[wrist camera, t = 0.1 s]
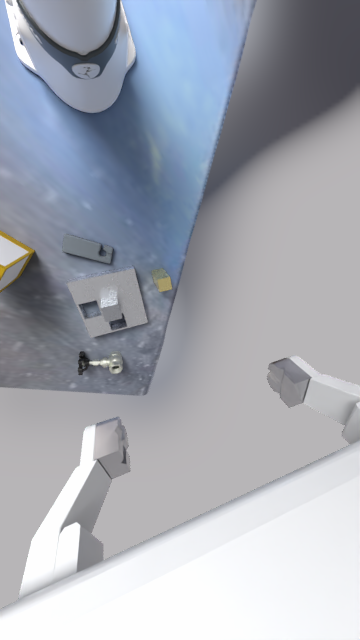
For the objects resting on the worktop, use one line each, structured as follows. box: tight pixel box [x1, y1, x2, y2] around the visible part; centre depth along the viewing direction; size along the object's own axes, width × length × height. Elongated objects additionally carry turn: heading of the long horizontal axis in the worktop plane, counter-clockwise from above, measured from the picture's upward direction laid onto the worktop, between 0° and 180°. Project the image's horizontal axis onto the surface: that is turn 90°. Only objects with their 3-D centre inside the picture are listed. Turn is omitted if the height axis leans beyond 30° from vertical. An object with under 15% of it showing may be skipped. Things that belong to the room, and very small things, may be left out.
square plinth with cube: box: [67, 266, 148, 338], centre depth 53 cm, size 16×16×8 cm
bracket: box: [62, 234, 113, 264], centre depth 48 cm, size 4×10×2 cm, turn 71°
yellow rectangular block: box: [152, 268, 172, 292], centre depth 53 cm, size 3×3×8 cm
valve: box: [78, 351, 123, 375], centre depth 61 cm, size 7×7×12 cm
